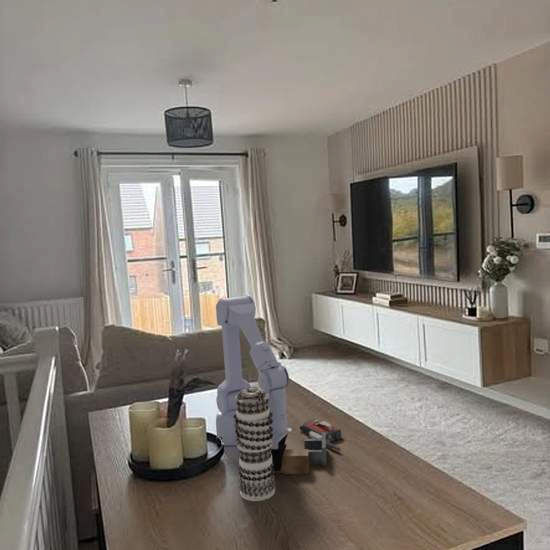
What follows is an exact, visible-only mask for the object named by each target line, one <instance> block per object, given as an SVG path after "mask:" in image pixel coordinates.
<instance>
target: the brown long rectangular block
mask: <svg viewBox="0 0 550 550" xmlns="http://www.w3.org/2000/svg"><path fill="white" fill-rule="evenodd" d="M271 471H272V470H271ZM274 473H284V474H283V475H293V474H295V475H301V474H302V475H305V474H306V475H307V474H309V475H310V464H309V450H308V449H304V448H302V449H301V448H297V449H295V448H294V449H293V448H292V449H290V448H289V449H287V448H286V449H285V451H284V454H283V458H282V467H281V471H274Z"/></svg>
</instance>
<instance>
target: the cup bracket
mask: <svg viewBox="0 0 550 550" xmlns="http://www.w3.org/2000/svg"><path fill="white" fill-rule="evenodd" d="M303 444H304V445H303V446H304V448H303V449H308V450H309V465H322V467H327V446H326V432H322V439H311V438H306V439H303Z"/></svg>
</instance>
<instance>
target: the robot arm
mask: <svg viewBox="0 0 550 550" xmlns="http://www.w3.org/2000/svg"><path fill="white" fill-rule="evenodd" d="M256 310H257V309H256V303H255V301H254V298H253V297H252V296H251V295H249V294H247V295H245V296H244V295H242V296H235V297H228V298H219V300H218V301H217V302H216V304H215V313H216V321H217V322H216V324H217V326H220V327H221V334H222V337H221V338H222V347H223V360H224V361H223V362H224V374H225V376H224V377H225V379H224V380H223V381H222V382H221V383H220V384H219V385H218V386H217V388H216V389H217V392H216V400H215V401H216V406H217V409H218V411H217V413H216V418H215V427H216V428H215V429H216V439H217V438H219V439H220V438H221V439H220V440H222V442H223V443H224V445H223V446H237V444H238V443H237V441H236V438H237V437H236V436H237V435H236V433H235V430H236V427H235V426H234V425H235V419H234V418H233V416H234V415H235V414H236V410H237V401H236V400H235V396H237V395H238V393H239V392H240V391H241V390H242V389H245V388H249V387H252V386H251V384H250V382H249V381H247V380H246V379H244V378H243V367H242V366H243V365H242V354H241V353H242V352H241V340H240V339H241V338H240V329H241V331H242V333H243V335H244V336H245V339H246V340H247V342H248V343H249V345H250V347H251V348H250V350H249V355H250V357H251V359H252V361H253V364H254V367H255V368H256V371H257V373H258V378H257V383H258V387H259V388H261V389H263V390H264V391H265V393H267V394H269V397H268V406H269V411H270V412H272V413H273V416H272V417H271V419H272V420H273V423H272V424H270V425H269V426H271V427H272V428H273V431H272V432H270V433H272V434H273V437H272V438H271V440H272V446H271V454H272V461H273V463H274V465H273V466H274V467H273V469H274V471H281V467H282V458H283V454H284V451H285V449H287V444H286V440H287V437H288V436H289V435H291V434H292V431H293V428H291V427H288V420H287V419H288V418H287V401H286V399H287V397H286V388H287V387H289V384H290V376H289V371H288V370H287V367H286V366H285V365H283V364H282V362H280V361H278V360H277V357H276V356H275V353H274V352H273V350H272V347H271V345H270V343H269V342H266V341H264V339H263V337H262V333H261V331H260V329H259V326H258V323H257V321H256V318H255V316H256ZM236 417H237V416H236ZM268 417H269V416H268ZM237 425H238V424H237ZM238 432H239V430H238Z"/></svg>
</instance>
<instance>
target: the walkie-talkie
mask: <svg viewBox="0 0 550 550" xmlns="http://www.w3.org/2000/svg"><path fill="white" fill-rule="evenodd" d="M299 430H300V431H302V432H304V433H303V434H305V433H306V434H305V435H307V434H308V437H310V439H322V432H326V447H329V448H331V449H334V450H336V451H339V452H340V451H341V447H339V446H336V445H335V444H333V443H332V442H333V441H337V440H340V439H342V429H340V428H338V427H336V426H334V425H333V424H332V423H330V422H327V421H326V420H323V421H322V420H320V419H316V418H314V419H311V420H308V421H304V422H303V423H302V425H300V426H299Z"/></svg>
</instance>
